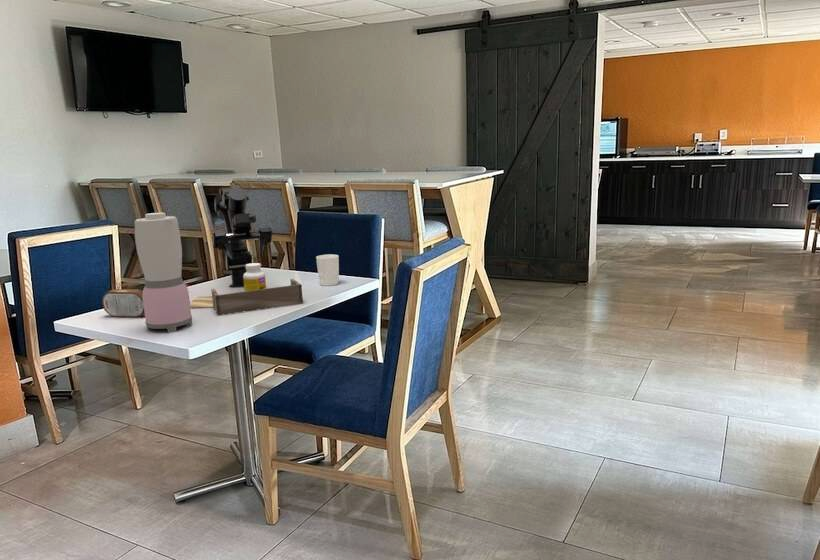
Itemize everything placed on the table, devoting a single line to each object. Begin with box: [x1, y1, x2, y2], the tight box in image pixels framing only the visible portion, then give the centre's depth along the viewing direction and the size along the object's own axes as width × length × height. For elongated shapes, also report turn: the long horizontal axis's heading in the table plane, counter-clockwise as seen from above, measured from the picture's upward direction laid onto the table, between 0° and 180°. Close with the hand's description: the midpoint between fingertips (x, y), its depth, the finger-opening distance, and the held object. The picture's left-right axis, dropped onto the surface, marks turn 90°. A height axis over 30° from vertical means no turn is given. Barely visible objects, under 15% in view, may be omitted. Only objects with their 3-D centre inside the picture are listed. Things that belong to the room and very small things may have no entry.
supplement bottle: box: [243, 262, 267, 291], centre depth 196 cm, size 7×7×13 cm
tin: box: [101, 288, 145, 318], centre depth 188 cm, size 15×3×8 cm, turn 78°
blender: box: [133, 212, 193, 333], centre depth 173 cm, size 16×12×32 cm
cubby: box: [211, 278, 304, 316], centre depth 194 cm, size 10×26×6 cm, turn 114°
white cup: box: [315, 253, 340, 287], centre depth 221 cm, size 8×8×10 cm
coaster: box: [190, 295, 213, 309], centre depth 201 cm, size 14×14×1 cm
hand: (247, 257), depth 201 cm, fingers open, 9 cm apart
